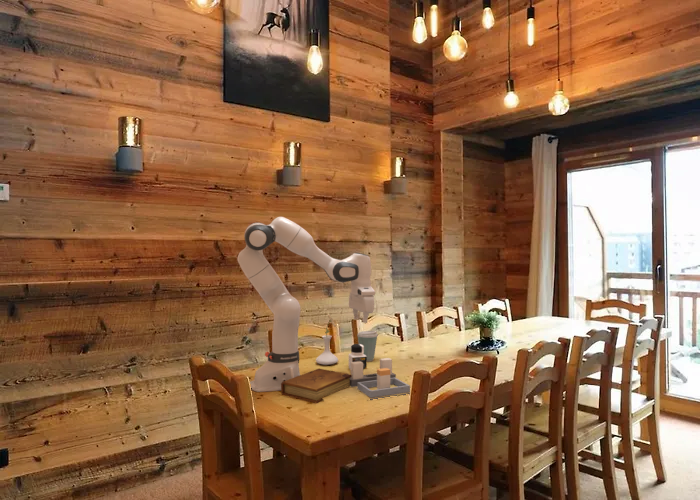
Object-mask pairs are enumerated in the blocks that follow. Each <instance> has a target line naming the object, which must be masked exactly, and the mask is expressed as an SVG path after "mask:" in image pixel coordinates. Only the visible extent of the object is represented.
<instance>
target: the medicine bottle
mask: <svg viewBox="0 0 700 500" xmlns="http://www.w3.org/2000/svg"><path fill="white" fill-rule="evenodd" d="M350 351H351V353H348V369H349V370H350V371H351V362H358V361H361V362H363V370H367V369H368V364H367V356H366V355H364V354H363V353H364V346H363V345H362V344H359V343H354V344H351V346H350Z"/></svg>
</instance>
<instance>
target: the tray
mask: <svg viewBox="0 0 700 500" xmlns="http://www.w3.org/2000/svg"><path fill="white" fill-rule="evenodd" d="M391 385H392V386H393V385H394V386H393V387H390V388H385V389H378V390H377V389H374V390H373V389H372V390H371V388H377V380H372V381H365V382H357V386H356V389H357V390H358V391H359V392H361V393H363V394H364V395H365V396H367V397H369V399H370V400H369V401H374V400H373V399H377V400H379V399H378V398H384V397H390V396H397V395H403V396H407V395H406V394H409V395H411V385H410V384H408V383H406V382H404V381H402V380H401V379H399V378H397V377H396V378H390V386H391ZM397 397H398V396H397ZM390 398H391V397H390ZM384 399H385V398H384Z"/></svg>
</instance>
